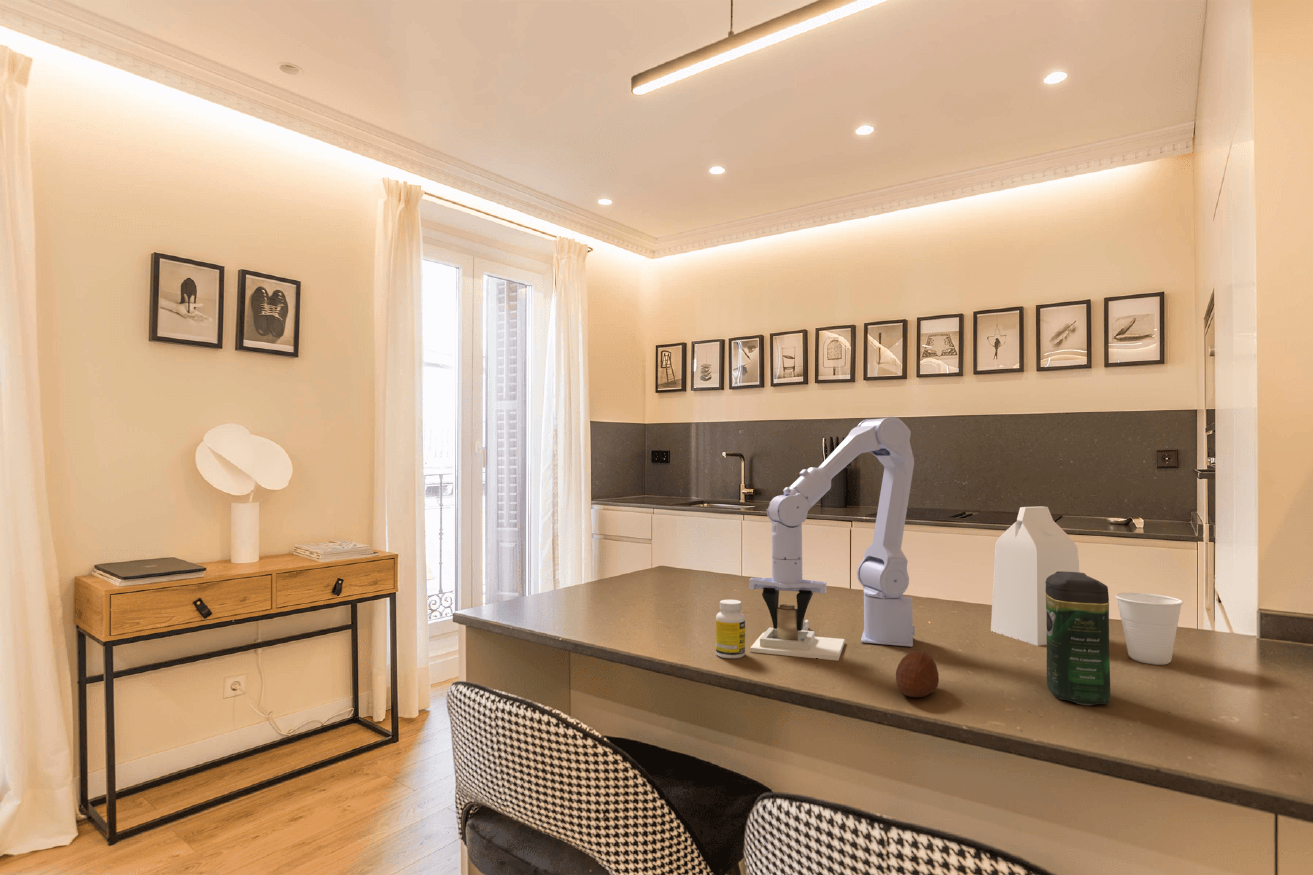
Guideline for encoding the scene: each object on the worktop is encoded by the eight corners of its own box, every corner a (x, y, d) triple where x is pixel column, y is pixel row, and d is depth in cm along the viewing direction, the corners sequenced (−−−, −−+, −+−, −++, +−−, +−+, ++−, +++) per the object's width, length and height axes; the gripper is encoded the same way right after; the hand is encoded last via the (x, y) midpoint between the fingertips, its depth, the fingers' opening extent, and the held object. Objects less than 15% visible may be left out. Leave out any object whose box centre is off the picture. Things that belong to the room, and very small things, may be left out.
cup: (1123, 648, 128) (1121, 590, 129) (1189, 659, 121) (1187, 597, 122) (1110, 660, 122) (1108, 598, 122) (1179, 672, 114) (1177, 606, 115)
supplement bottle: (744, 660, 123) (743, 605, 123) (714, 658, 124) (713, 604, 124) (746, 651, 128) (746, 599, 128) (717, 650, 129) (717, 597, 129)
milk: (1035, 626, 146) (1033, 504, 146) (1084, 640, 135) (1081, 508, 135) (990, 631, 142) (988, 505, 143) (1037, 645, 131) (1035, 510, 132)
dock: (848, 630, 142) (848, 620, 143) (838, 660, 122) (838, 648, 122) (772, 624, 148) (772, 614, 148) (750, 651, 127) (750, 640, 128)
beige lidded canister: (799, 640, 132) (798, 604, 132) (798, 645, 128) (797, 607, 129) (778, 639, 133) (777, 603, 133) (776, 644, 129) (775, 606, 130)
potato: (887, 701, 102) (887, 658, 102) (904, 679, 112) (903, 640, 112) (930, 709, 99) (930, 664, 99) (943, 686, 108) (943, 645, 109)
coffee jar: (1118, 710, 98) (1115, 580, 98) (1055, 703, 100) (1053, 577, 101) (1099, 688, 107) (1096, 569, 107) (1042, 683, 110) (1040, 567, 110)
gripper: (745, 558, 130) (746, 630, 130) (823, 562, 125) (823, 637, 125) (753, 553, 137) (754, 621, 136) (827, 557, 132) (828, 627, 131)
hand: (787, 628), depth 131 cm, fingers closed on beige lidded canister, 4 cm apart
